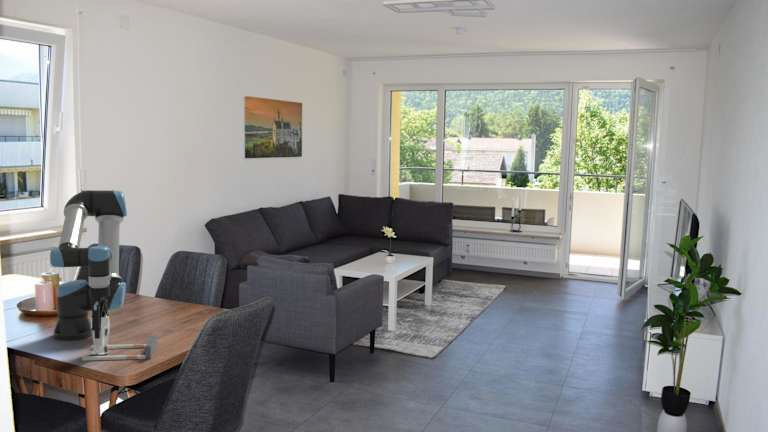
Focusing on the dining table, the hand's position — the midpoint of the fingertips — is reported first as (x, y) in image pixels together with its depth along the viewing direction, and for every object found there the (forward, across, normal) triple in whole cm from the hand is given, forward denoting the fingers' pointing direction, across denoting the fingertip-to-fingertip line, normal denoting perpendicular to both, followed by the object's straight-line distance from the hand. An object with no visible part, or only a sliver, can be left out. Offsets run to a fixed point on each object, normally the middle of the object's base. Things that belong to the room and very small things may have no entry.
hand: (100, 342), depth 252 cm
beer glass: (+4, 0, 0) cm, 4 cm away
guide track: (+5, 0, -7) cm, 8 cm away
